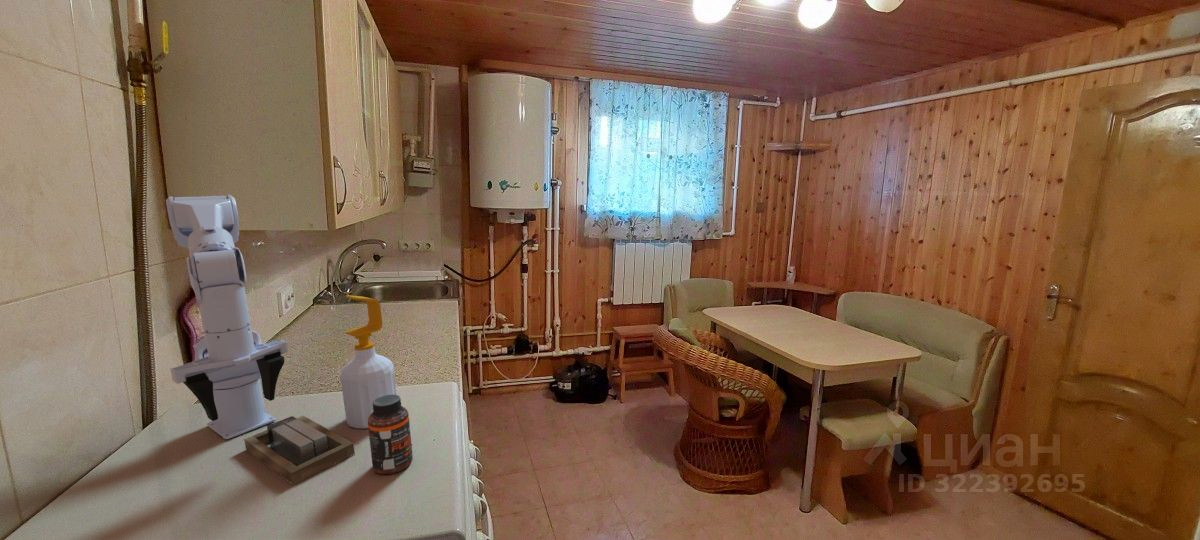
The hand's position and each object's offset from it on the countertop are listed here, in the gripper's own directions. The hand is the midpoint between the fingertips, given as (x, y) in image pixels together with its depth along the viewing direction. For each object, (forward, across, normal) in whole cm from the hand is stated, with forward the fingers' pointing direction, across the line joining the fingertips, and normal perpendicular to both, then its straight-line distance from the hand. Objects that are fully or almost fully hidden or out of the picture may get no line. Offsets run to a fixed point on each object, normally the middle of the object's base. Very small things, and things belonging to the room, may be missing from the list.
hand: (242, 408), depth 74 cm
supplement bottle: (+10, +12, -21) cm, 26 cm away
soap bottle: (+10, +19, -4) cm, 21 cm away
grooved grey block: (+9, +6, -4) cm, 12 cm away
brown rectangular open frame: (+9, +6, -4) cm, 12 cm away
